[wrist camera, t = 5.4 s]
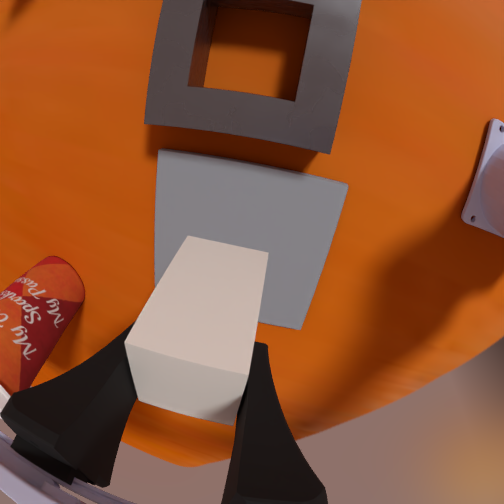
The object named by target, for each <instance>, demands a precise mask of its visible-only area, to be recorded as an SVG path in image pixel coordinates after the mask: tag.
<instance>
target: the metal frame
mask: <svg viewBox="0 0 504 504" xmlns="http://www.w3.org/2000/svg"><path fill="white" fill-rule="evenodd" d="M360 6H361V0H163V4H162V8H161V13H160V18H159V23H158V28H157V33H156V38H155V44H154V50H153V56H152V62H151V69H150V76H149V83H148V91H147V100H146V109H145V119H144V124H152V125H163V126H173V127H182V128H191V129H199V130H206V131H214V132H220V133H227V134H233V135H239V136H245V137H251V138H257V139H262V140H267V141H272V142H277V143H282V144H287V145H292V146H296V147H301V148H305V149H309V150H314V151H318V152H322V153H326V154H330V152H331V148H332V144H333V140H334V136H335V131H336V127H337V123H338V118H339V114H340V109H341V105H342V100H343V96H344V91H345V86H346V82H347V77H348V72H349V67H350V62H351V57H352V52H353V46H354V41H355V36H356V30H357V24H358V18H359V13H360ZM218 7H224V8H239V9H250V10H259V11H267V12H274V13H281V14H287V15H293V16H298V17H303V18H308V19H311V20H310V25H309V30H308V35H307V40H306V46H305V51H304V56H303V61H302V66H301V71H300V76H299V81H298V86H297V91H296V96H295V101H290V100H285V99H280V98H274V97H269V96H263V95H257V94H251V93H244V92H237V91H230V90H222V89H213V88H203V87H204V80H205V74H206V68H207V62H208V57H209V51H210V46H211V40H212V35H213V30H214V25H215V20H216V15H217V10H218Z"/></svg>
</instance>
